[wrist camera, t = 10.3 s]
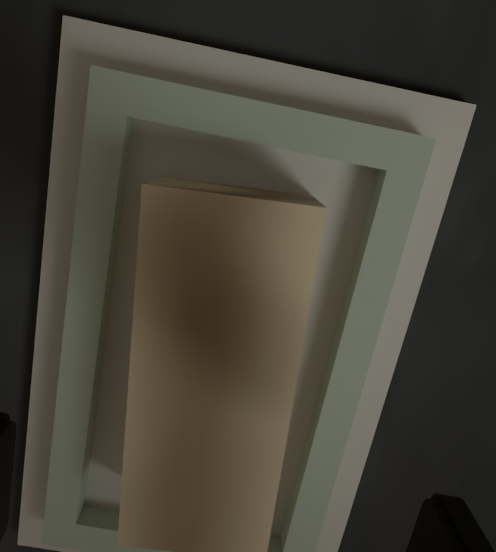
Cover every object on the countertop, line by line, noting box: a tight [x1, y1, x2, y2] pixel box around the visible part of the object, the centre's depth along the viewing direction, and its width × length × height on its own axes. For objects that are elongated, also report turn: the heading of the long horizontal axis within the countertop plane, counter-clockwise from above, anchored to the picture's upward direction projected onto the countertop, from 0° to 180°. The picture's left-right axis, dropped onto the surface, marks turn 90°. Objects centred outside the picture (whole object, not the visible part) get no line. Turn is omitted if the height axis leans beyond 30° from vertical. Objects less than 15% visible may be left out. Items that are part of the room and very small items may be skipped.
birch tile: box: [117, 176, 327, 552], centre depth 16 cm, size 5×12×3 cm, turn 173°
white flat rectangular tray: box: [17, 15, 476, 552], centre depth 17 cm, size 20×13×2 cm, turn 169°
